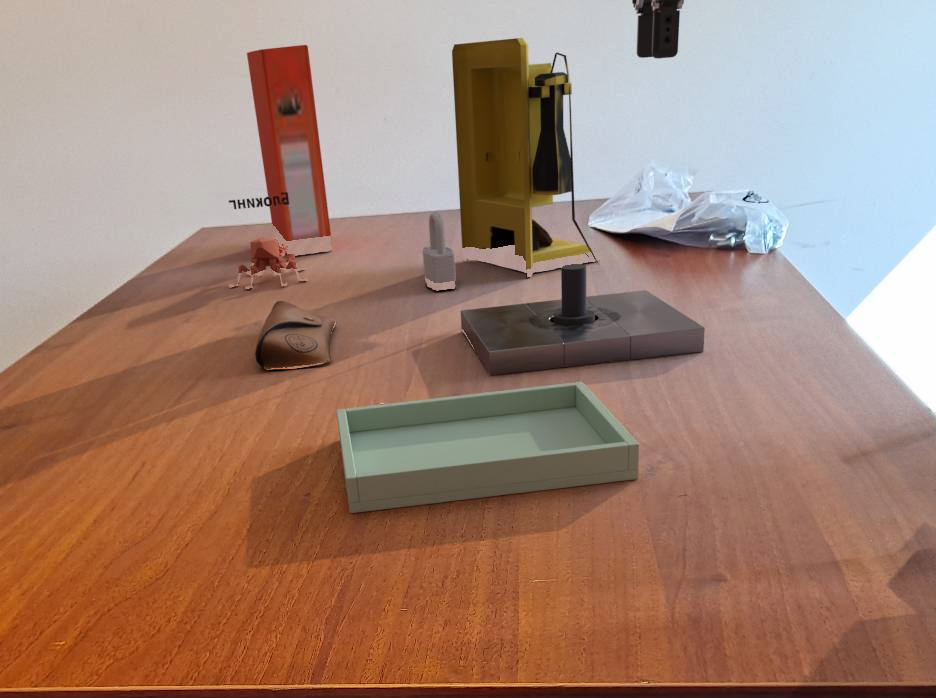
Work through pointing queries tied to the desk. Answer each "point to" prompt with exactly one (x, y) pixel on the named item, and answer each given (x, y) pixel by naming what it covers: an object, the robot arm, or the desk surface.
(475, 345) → the plate
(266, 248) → the beetle
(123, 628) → the desk surface
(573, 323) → the plug
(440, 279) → the padlock
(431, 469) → the tray
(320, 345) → the sunglasses case
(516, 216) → the vintage telephone
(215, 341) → the desk surface
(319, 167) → the file binder
